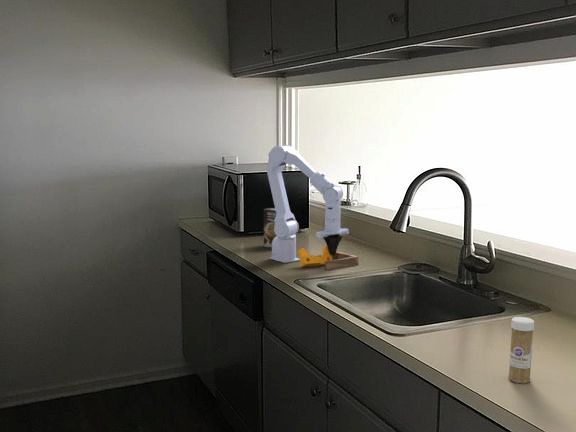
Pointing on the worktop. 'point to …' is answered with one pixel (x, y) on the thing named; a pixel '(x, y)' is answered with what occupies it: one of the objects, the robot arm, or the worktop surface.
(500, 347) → the worktop surface
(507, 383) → the worktop surface
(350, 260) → the brown wooden tray
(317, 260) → the pipe clamp
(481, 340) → the worktop surface
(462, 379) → the worktop surface
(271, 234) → the coffee box
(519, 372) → the sprinkles bottle
